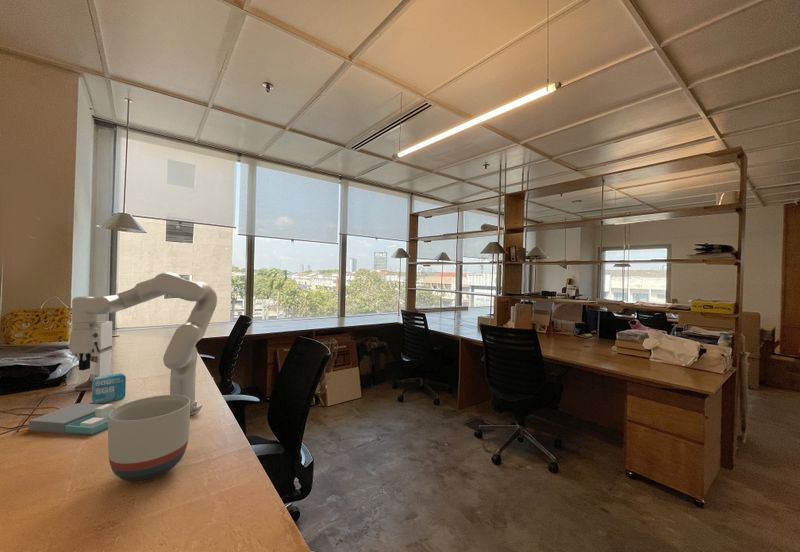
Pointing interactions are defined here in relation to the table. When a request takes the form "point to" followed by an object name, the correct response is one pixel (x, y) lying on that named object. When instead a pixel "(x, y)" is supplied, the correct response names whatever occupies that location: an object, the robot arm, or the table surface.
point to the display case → (100, 356)
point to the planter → (148, 436)
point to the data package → (108, 388)
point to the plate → (62, 418)
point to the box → (81, 430)
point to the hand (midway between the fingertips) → (84, 369)
